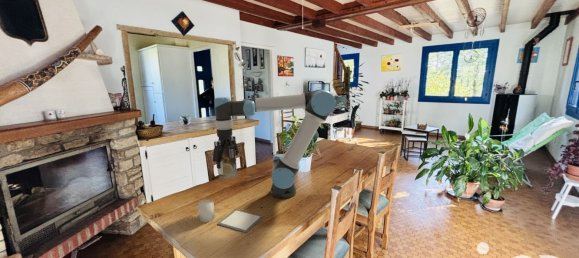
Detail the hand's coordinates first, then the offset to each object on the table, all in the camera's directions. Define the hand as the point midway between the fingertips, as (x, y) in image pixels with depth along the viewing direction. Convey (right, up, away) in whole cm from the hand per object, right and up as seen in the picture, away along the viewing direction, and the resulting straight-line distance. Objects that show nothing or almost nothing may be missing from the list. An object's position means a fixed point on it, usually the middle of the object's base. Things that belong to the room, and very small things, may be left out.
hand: (227, 170), depth 128 cm
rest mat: (+9, -22, -12) cm, 26 cm away
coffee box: (0, -3, +1) cm, 3 cm away
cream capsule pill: (-8, -21, -9) cm, 25 cm away
